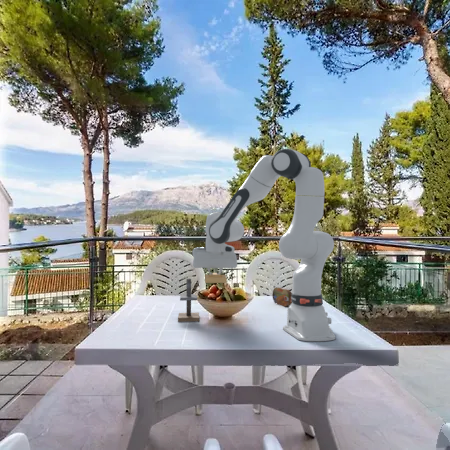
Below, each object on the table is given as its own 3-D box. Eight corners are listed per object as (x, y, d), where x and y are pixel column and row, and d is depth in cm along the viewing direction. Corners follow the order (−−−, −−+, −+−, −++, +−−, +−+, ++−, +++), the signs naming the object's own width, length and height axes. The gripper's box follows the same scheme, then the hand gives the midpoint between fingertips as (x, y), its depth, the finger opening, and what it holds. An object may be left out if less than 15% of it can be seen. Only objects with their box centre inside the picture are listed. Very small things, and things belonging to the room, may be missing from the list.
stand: (199, 321, 163) (199, 280, 162) (177, 321, 162) (177, 280, 162) (199, 315, 172) (199, 277, 171) (178, 316, 171) (178, 277, 171)
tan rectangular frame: (226, 282, 164) (226, 278, 164) (205, 282, 163) (205, 278, 163) (224, 277, 178) (224, 272, 178) (204, 277, 177) (204, 272, 177)
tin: (271, 302, 200) (271, 286, 200) (276, 301, 202) (277, 285, 202) (288, 308, 187) (288, 291, 187) (293, 307, 188) (293, 290, 188)
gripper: (192, 247, 170) (192, 278, 171) (237, 248, 172) (237, 278, 172) (192, 246, 177) (192, 276, 177) (236, 246, 178) (236, 276, 179)
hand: (214, 277), depth 175 cm, fingers closed on tan rectangular frame, 2 cm apart
